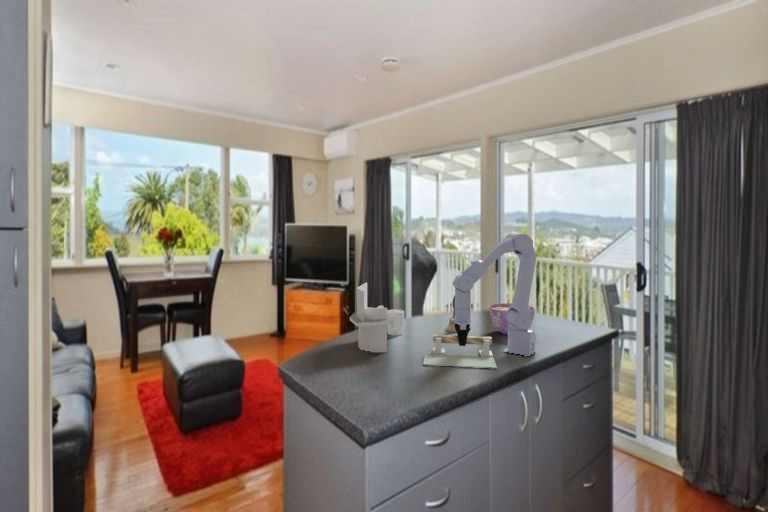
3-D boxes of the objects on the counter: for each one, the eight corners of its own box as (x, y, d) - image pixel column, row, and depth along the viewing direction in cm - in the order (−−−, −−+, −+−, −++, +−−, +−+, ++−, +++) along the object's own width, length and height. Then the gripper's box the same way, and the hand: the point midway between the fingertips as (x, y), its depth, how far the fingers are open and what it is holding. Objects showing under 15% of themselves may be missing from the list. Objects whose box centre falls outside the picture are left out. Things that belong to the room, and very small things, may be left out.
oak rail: (491, 343, 152) (491, 336, 152) (491, 345, 150) (492, 338, 149) (433, 340, 155) (433, 334, 155) (433, 342, 153) (433, 336, 153)
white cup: (383, 332, 184) (383, 310, 183) (399, 330, 187) (399, 308, 187) (391, 336, 177) (391, 313, 176) (407, 334, 180) (407, 312, 180)
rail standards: (491, 352, 154) (491, 336, 154) (492, 357, 148) (493, 341, 148) (433, 350, 157) (433, 334, 157) (432, 354, 151) (432, 338, 151)
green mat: (493, 359, 146) (493, 357, 146) (496, 369, 136) (496, 367, 135) (424, 355, 150) (424, 354, 150) (423, 365, 139) (423, 363, 139)
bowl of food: (486, 337, 177) (486, 310, 176) (488, 326, 196) (489, 302, 195) (536, 340, 171) (537, 312, 170) (534, 329, 190) (534, 304, 189)
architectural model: (407, 353, 153) (408, 290, 152) (351, 359, 147) (351, 293, 145) (384, 335, 180) (384, 281, 178) (335, 339, 173) (335, 283, 172)
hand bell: (462, 328, 192) (463, 294, 191) (464, 332, 184) (465, 297, 183) (444, 328, 193) (445, 293, 192) (445, 332, 185) (446, 296, 184)
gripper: (451, 304, 159) (451, 339, 160) (451, 311, 145) (451, 349, 146) (470, 304, 158) (469, 339, 159) (472, 311, 144) (471, 350, 145)
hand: (462, 344), depth 152 cm, fingers closed on oak rail, 2 cm apart
